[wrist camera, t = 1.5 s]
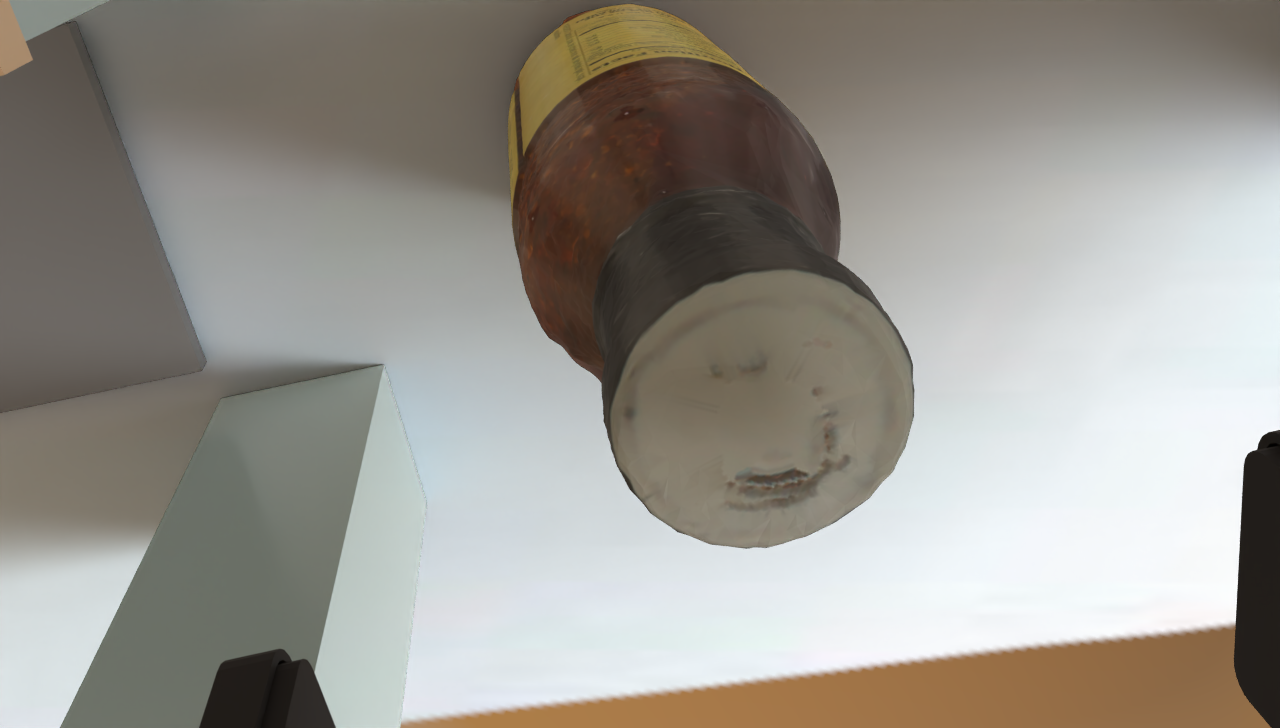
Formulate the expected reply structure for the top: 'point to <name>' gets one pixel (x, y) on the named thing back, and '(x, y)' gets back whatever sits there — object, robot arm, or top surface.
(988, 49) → the top surface
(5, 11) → the canister
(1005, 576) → the top surface
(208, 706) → the robot arm
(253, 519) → the canister
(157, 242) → the plate
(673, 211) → the sauce bottle
